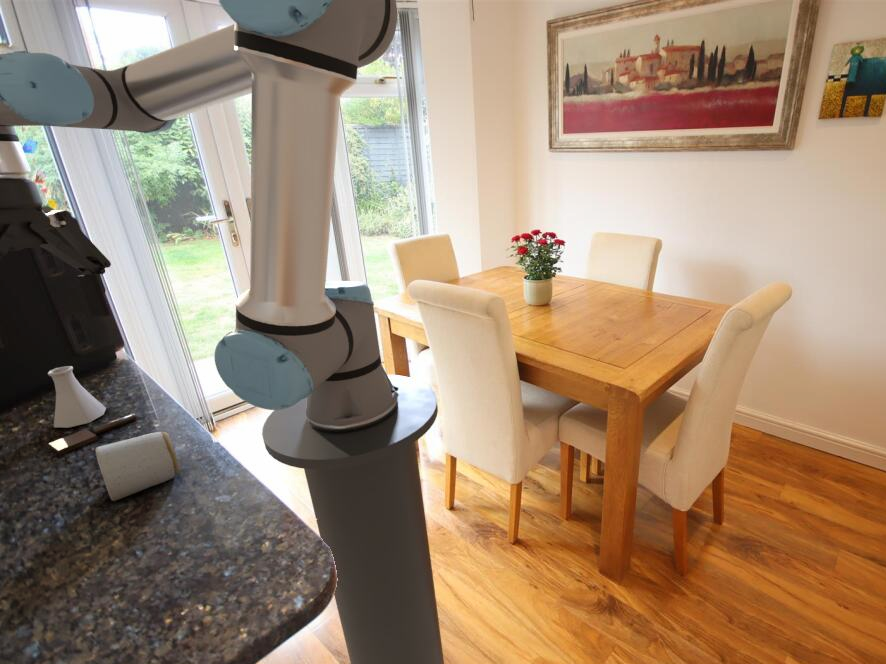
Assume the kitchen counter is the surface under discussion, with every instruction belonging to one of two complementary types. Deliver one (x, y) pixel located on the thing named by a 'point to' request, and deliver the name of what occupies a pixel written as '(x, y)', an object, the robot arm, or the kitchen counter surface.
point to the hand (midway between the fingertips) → (55, 329)
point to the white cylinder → (137, 463)
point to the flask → (73, 400)
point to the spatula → (86, 436)
